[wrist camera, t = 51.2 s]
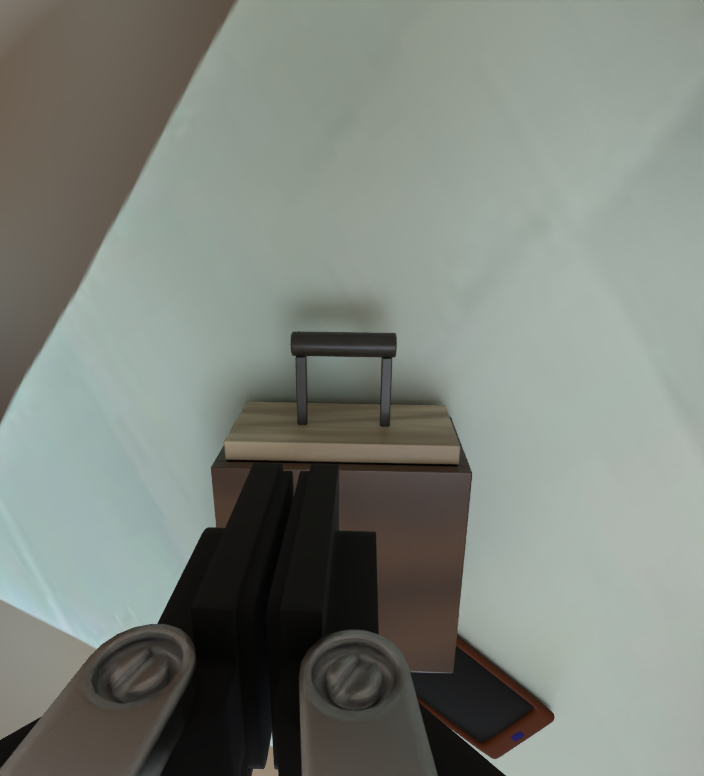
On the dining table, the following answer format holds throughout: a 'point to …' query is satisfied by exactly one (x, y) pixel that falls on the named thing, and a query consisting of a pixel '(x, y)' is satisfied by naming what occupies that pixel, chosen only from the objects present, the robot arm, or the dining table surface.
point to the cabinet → (396, 544)
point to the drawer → (343, 417)
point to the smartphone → (481, 703)
